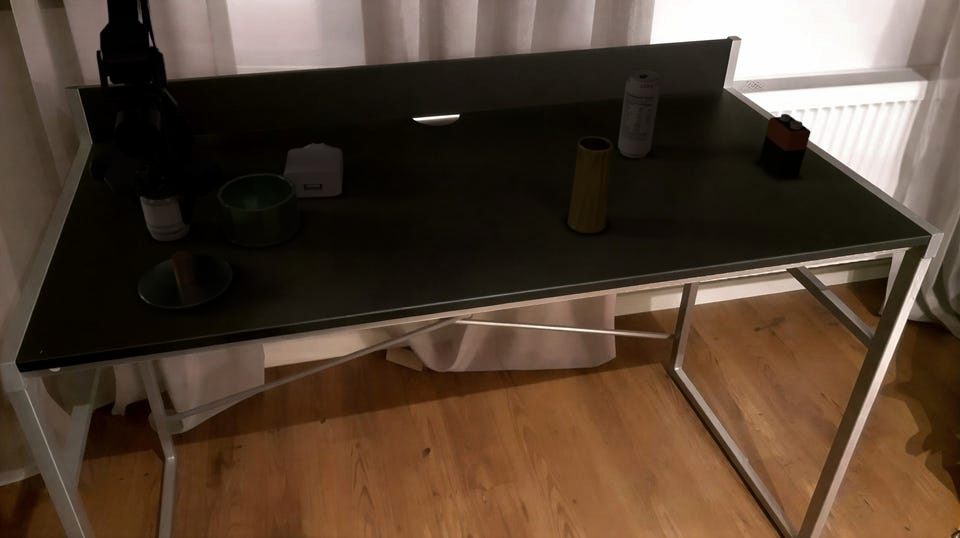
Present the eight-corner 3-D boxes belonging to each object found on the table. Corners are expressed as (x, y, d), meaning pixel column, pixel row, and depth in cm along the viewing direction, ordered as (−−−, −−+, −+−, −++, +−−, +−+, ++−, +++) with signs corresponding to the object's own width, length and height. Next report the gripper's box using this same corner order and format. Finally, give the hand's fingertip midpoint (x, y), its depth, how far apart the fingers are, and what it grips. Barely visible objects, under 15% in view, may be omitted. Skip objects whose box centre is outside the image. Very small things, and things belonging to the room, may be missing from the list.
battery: (777, 180, 141) (791, 128, 135) (757, 162, 146) (769, 112, 140) (799, 177, 142) (813, 126, 136) (778, 160, 147) (791, 110, 141)
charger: (344, 155, 146) (342, 196, 133) (293, 156, 145) (286, 198, 132) (342, 131, 143) (339, 170, 131) (290, 132, 142) (282, 172, 130)
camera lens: (141, 240, 121) (129, 195, 117) (161, 219, 126) (150, 175, 122) (180, 244, 120) (170, 199, 116) (199, 223, 126) (189, 179, 121)
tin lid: (120, 304, 108) (111, 274, 105) (172, 255, 118) (165, 225, 115) (204, 320, 106) (197, 289, 103) (249, 268, 116) (244, 238, 113)
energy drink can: (654, 150, 150) (667, 73, 141) (642, 162, 146) (653, 84, 137) (625, 141, 152) (635, 66, 144) (612, 153, 148) (621, 76, 139)
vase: (580, 237, 124) (589, 155, 116) (559, 219, 129) (567, 138, 120) (613, 228, 127) (624, 147, 118) (591, 210, 131) (600, 131, 123)
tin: (210, 241, 121) (202, 204, 118) (246, 204, 131) (240, 168, 127) (280, 252, 119) (274, 215, 115) (312, 214, 128) (308, 178, 125)
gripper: (50, 142, 109) (81, 238, 118) (173, 160, 105) (195, 258, 114) (101, 110, 118) (126, 202, 127) (216, 126, 114) (233, 219, 123)
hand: (168, 220), depth 122 cm, fingers closed on camera lens, 6 cm apart
